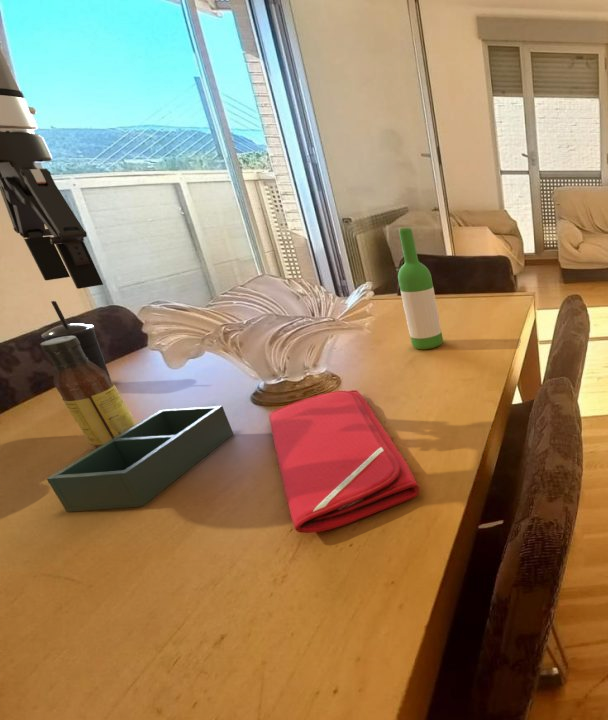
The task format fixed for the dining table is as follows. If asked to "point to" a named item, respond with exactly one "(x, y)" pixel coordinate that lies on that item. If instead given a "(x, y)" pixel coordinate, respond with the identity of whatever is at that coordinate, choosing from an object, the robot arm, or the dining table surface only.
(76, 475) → the dark green divided tray
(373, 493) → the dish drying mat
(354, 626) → the dining table surface
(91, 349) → the drinking cup
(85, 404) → the sauce bottle
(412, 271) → the wine bottle
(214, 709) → the dining table surface
